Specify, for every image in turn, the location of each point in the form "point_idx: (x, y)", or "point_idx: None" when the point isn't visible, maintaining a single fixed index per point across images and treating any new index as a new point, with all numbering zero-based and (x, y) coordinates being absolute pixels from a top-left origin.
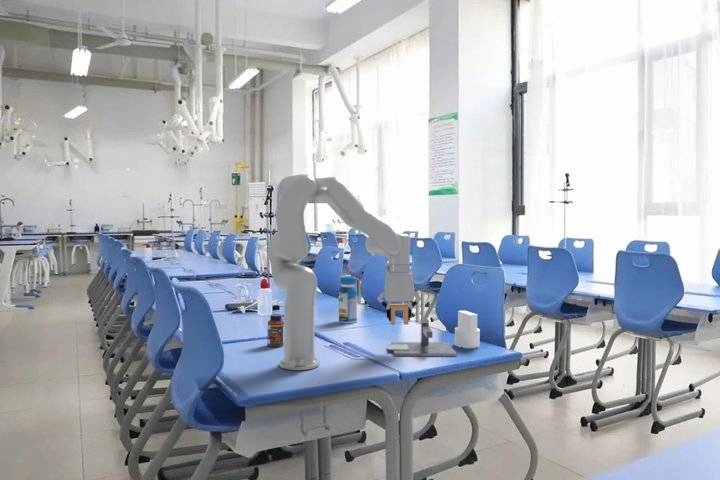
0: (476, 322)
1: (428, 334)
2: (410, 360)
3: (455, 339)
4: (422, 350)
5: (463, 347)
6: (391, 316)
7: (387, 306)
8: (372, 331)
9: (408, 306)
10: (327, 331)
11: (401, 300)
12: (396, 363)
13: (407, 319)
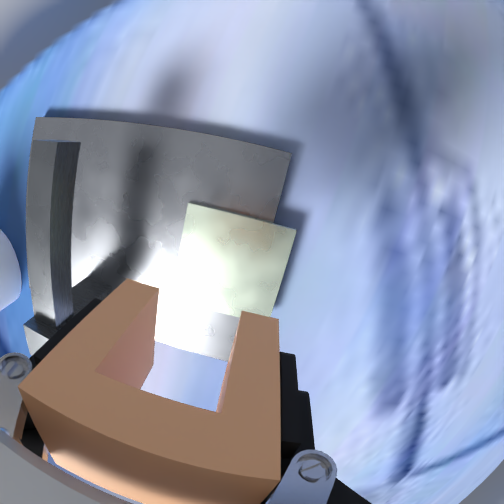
0: None
1: (59, 141)
2: (236, 67)
3: (6, 279)
4: (130, 182)
5: (5, 236)
6: (275, 367)
7: (320, 484)
8: None
9: None
10: (361, 487)
11: (53, 494)
12: (320, 39)
13: (112, 300)
